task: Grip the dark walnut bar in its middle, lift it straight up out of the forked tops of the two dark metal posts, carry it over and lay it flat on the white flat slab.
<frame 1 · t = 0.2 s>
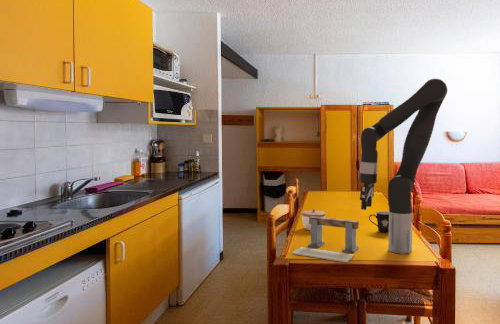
hand: (366, 207, 187), 18 cm above the table, tool pointing down, fingers open, 8 cm apart
lidded bowl: (313, 229, 223), on the table
coffee mug: (381, 231, 218), on the table
walnut bar: (333, 225, 187), point 10 cm above the table, touching forked posts
white flat slab: (322, 255, 176), on the table
forked posts: (333, 247, 187), on the table
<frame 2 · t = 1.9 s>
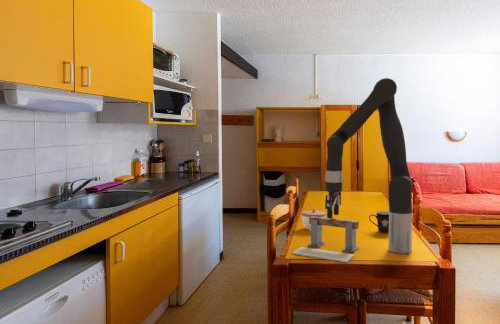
hand: (333, 216, 187), 14 cm above the table, tool pointing down, fingers open, 8 cm apart
nothing on the table moved.
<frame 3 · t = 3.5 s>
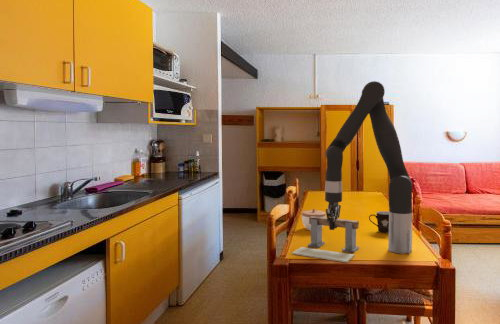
hand: (333, 228, 187), 9 cm above the table, tool pointing down, fingers closed on walnut bar, 3 cm apart
walnut bar: (333, 225, 187), point 10 cm above the table, touching forked posts, gripper
everything else where it was.
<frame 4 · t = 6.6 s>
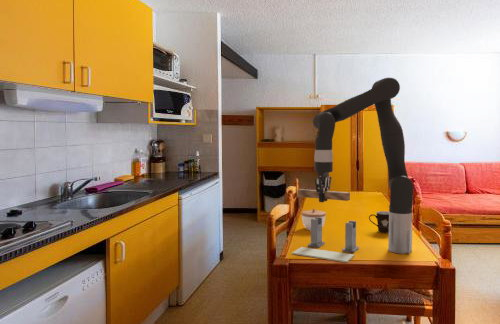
hand: (323, 201, 175), 23 cm above the table, tool pointing down, fingers closed on walnut bar, 3 cm apart
walnut bar: (323, 198, 175), point 24 cm above the table, touching gripper
everything else where it was.
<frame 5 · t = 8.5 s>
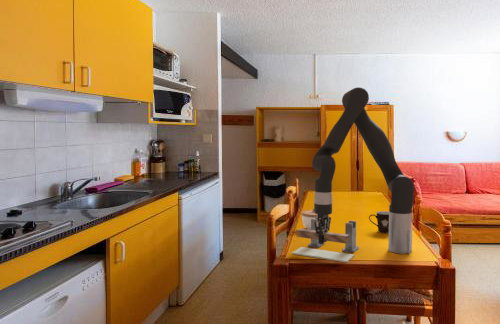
hand: (322, 242, 176), 5 cm above the table, tool pointing down, fingers closed on walnut bar, 3 cm apart
walnut bar: (322, 239, 176), point 7 cm above the table, touching gripper
everything else where it was.
when the fingers open (2 cm above the table, at t = 9.9 s): walnut bar drops 2 cm, resting on white flat slab.
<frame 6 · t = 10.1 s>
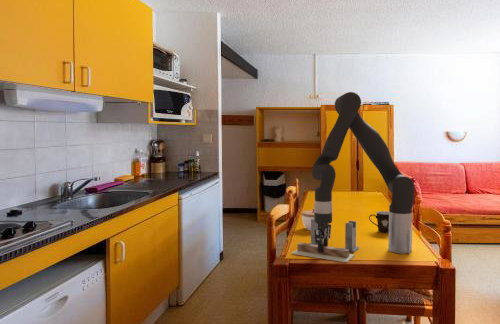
hand: (322, 250, 176), 2 cm above the table, tool pointing down, fingers open, 4 cm apart
walnut bar: (322, 253, 176), point 1 cm above the table, touching white flat slab
everything else where it was.
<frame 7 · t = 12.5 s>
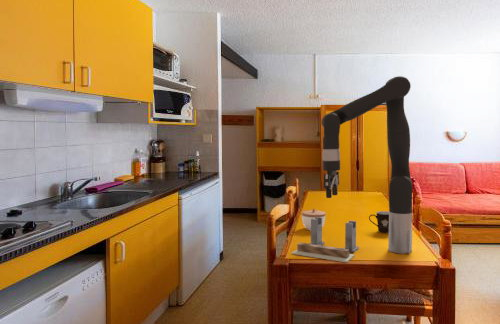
hand: (331, 196, 181), 24 cm above the table, tool pointing down, fingers open, 8 cm apart
nothing on the table moved.
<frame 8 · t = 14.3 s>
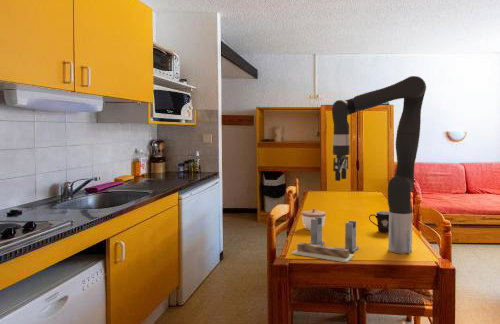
hand: (340, 179, 191), 30 cm above the table, tool pointing down, fingers open, 8 cm apart
nothing on the table moved.
at the end: walnut bar inside the target area on the white flat slab (0.1 cm from its centre), point 0.6 cm above the white flat slab's base; walnut bar touching white flat slab; the gripper is holding nothing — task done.
